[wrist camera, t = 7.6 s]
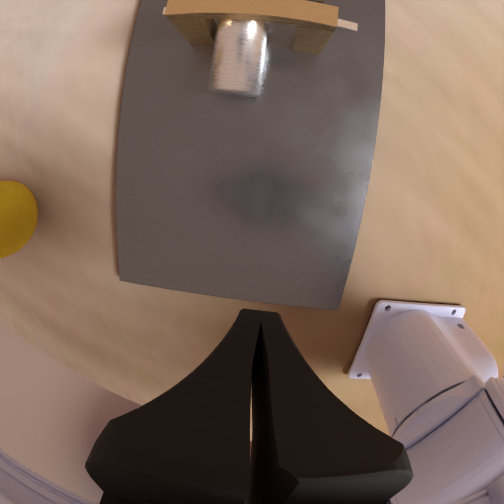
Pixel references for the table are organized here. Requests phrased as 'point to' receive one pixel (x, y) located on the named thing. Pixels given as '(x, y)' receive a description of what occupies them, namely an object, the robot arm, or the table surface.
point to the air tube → (238, 58)
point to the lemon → (16, 216)
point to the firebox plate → (248, 151)
